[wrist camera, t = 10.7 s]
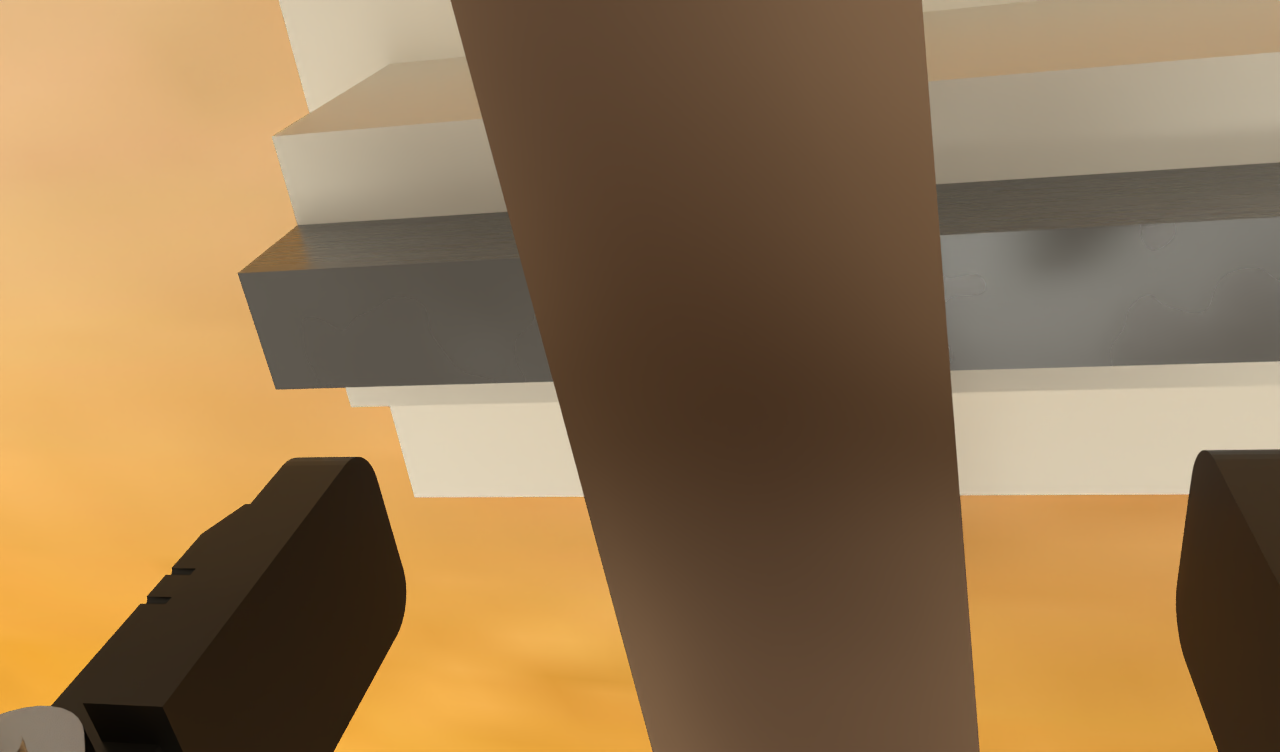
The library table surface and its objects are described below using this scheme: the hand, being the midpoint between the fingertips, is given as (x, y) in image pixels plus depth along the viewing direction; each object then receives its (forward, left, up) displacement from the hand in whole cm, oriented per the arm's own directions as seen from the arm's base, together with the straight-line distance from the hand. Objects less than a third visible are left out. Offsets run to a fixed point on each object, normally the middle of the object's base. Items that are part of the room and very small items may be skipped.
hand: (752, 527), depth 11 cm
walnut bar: (0, 0, -5) cm, 5 cm away
